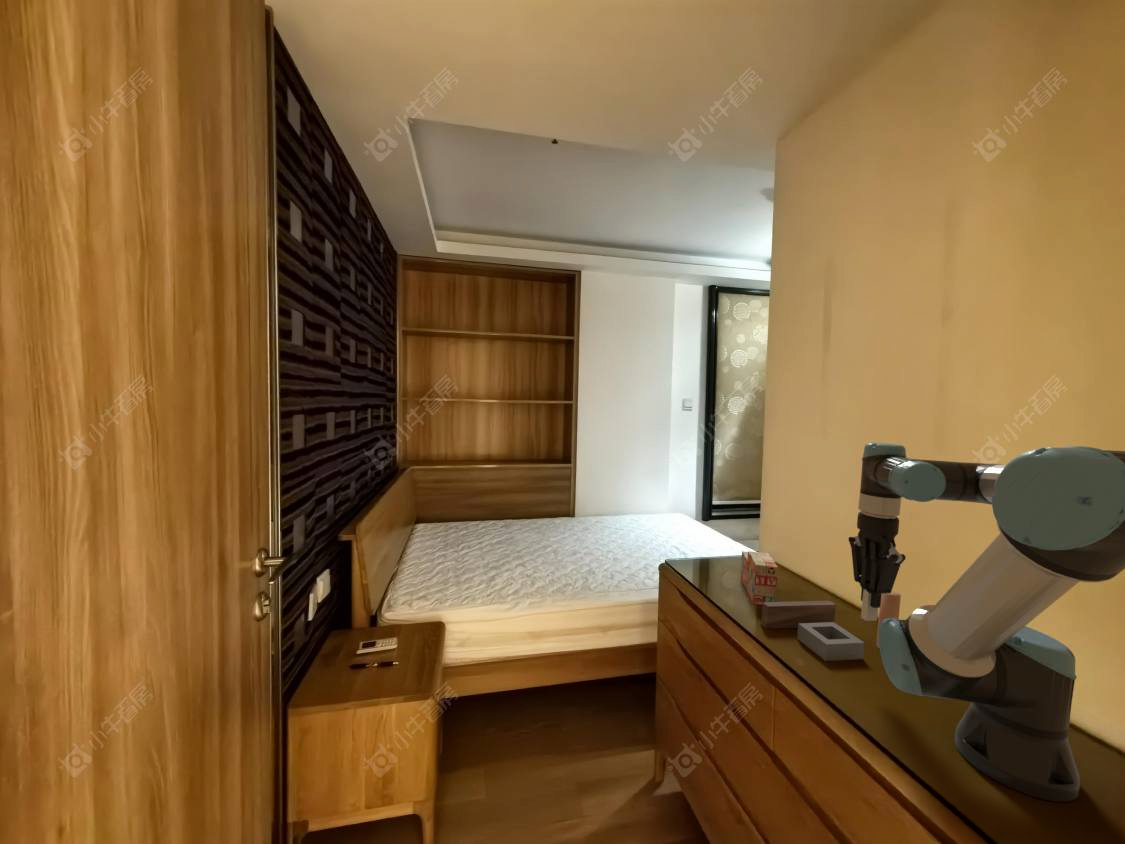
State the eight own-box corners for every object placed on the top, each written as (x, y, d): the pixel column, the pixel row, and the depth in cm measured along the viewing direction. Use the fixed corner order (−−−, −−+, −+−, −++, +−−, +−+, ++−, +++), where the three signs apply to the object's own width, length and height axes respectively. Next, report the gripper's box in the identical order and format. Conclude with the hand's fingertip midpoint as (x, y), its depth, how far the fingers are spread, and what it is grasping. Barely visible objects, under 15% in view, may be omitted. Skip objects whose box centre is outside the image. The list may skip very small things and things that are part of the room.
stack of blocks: (740, 577, 159) (742, 542, 159) (759, 580, 158) (762, 544, 157) (752, 604, 138) (755, 563, 138) (775, 607, 137) (778, 566, 136)
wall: (834, 626, 127) (835, 604, 126) (766, 628, 124) (768, 606, 123) (827, 621, 129) (829, 600, 129) (761, 624, 126) (762, 602, 126)
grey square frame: (863, 659, 111) (864, 642, 111) (825, 661, 109) (826, 644, 109) (832, 637, 121) (833, 622, 120) (797, 638, 119) (798, 623, 119)
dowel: (894, 654, 114) (899, 598, 113) (875, 648, 116) (880, 592, 115) (896, 648, 117) (901, 593, 116) (877, 642, 119) (882, 588, 118)
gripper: (920, 522, 96) (909, 633, 98) (869, 506, 109) (860, 605, 111) (888, 522, 95) (878, 635, 97) (840, 506, 108) (832, 606, 109)
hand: (868, 619), depth 104 cm, fingers closed
